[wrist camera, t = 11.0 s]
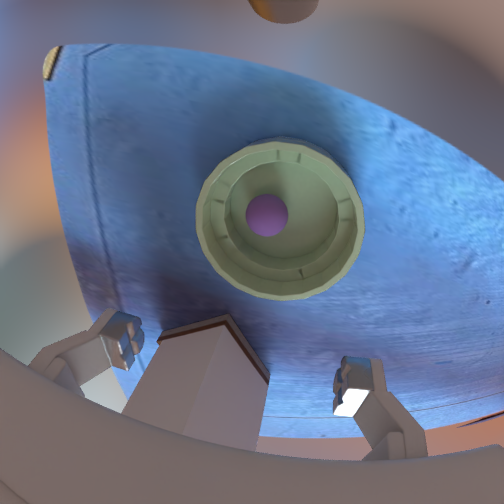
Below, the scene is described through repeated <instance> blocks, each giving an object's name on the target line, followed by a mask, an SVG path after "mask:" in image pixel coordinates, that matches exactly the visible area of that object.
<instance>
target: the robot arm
mask: <svg viewBox="0 0 504 504" xmlns="http://www.w3.org/2000/svg"><path fill="white" fill-rule="evenodd" d="M141 325H142V323H141V319H140V318H139V317H137V316H134V315H131V314H127V313H124V312H121V311H117V310H114V309H111V308H108V309H106V310H105V311H104V312H103V313H102V315H101V316H100V317H99V318H98V319H97V321H96V322H95V323H94V324H93V325H92V327H91V328H90V329H89V330H88V331H86V330H85V331H83V332H80V333H78V334H75V335H73V336H71V337H68V338H65V339H63V340H61V341H58V342H56V343H53V344H51V345H49V346H46V347H44V348H42V350H41V351H40V352H39V353H38V354H37V355H36V357H35V358H34V359H33V360H32V361H31V363H30V364H29V365H28V366H26V365H25V364H23V363H22V362H20V361H18V360H17V359H15V358H14V357H13V356H11V355H10V354H8V353H6V352H5V351H4V350H2V349H1V348H0V504H504V448H503V447H502V446H500V445H497V444H494V445H489V446H485V447H480V448H476V449H471V450H466V451H461V452H455V453H450V454H443V455H437V456H429V457H428V453H427V446H426V439H425V433H424V429H423V428H422V427H421V426H420V425H419V424H418V422H417V421H416V420H415V419H414V418H413V417H412V416H411V414H410V413H409V412H408V411H407V410H406V409H405V408H404V406H403V405H402V404H401V403H400V402H399V401H398V400H397V398H396V397H395V396H394V395H393V394H392V393H391V392H387V387H386V381H385V375H384V369H383V363H382V360H381V359H374V358H362V357H351V356H344V357H343V358H342V360H341V368H339V369H337V372H336V374H335V378H334V383H333V392H334V393H335V395H336V396H335V398H334V400H333V415H342V416H354V417H353V418H354V420H355V421H356V423H357V425H358V426H359V428H360V429H361V431H362V433H363V434H364V436H365V438H366V439H367V441H368V443H369V444H370V446H371V448H372V449H373V450H372V451H371V452H370V453H369V454H368V455H366V457H364V458H363V459H362V461H343V460H321V459H308V458H297V457H288V456H280V455H273V454H267V453H259V452H254V451H249V450H243V449H238V448H233V447H228V446H224V445H219V444H215V443H211V442H207V441H203V440H199V439H195V438H192V437H188V436H185V435H181V434H178V433H174V432H171V431H168V430H165V429H162V428H159V427H156V426H153V425H150V424H147V423H144V422H142V421H139V420H136V419H133V418H131V417H128V416H126V415H123V414H120V413H118V412H115V411H113V410H111V409H109V408H106V407H104V406H102V405H100V404H97V403H95V402H93V401H91V400H89V399H87V398H85V395H84V393H83V391H82V390H81V388H80V386H81V385H82V384H84V383H86V382H87V381H89V380H91V379H92V378H94V377H95V376H97V375H99V374H100V373H102V372H103V371H105V370H106V369H108V368H110V367H111V366H114V367H117V368H120V369H123V370H126V371H129V369H130V367H131V366H132V364H133V363H134V361H135V357H134V355H136V354H138V353H140V351H141V349H142V348H143V344H144V332H143V331H142V329H141V328H140V326H141Z"/></svg>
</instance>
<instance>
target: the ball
mask: <svg viewBox="0 0 504 504" xmlns="http://www.w3.org/2000/svg"><path fill="white" fill-rule="evenodd" d="M245 216H246V222H247V224H248V226H249V227H250V229H251V230H252V231H253V232H255V233H256V234H258V235H261V236H273V235H276V234H278V233H279V232H281V231H282V230H283V228H284V227H285V226H286V223H287V221H288V210H287V207H286V205H285V203H284V202H283V201H282V200H281V199H280V198H279V197H277V196H275V195H272V194H262V195H259V196H257V197H255V198H254V199H252V200H251V201H250V203H249V204H248V206H247V209H246V214H245Z"/></svg>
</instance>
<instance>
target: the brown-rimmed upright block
mask: <svg viewBox="0 0 504 504" xmlns="http://www.w3.org/2000/svg"><path fill="white" fill-rule="evenodd" d="M156 342H157V343H158V344H159V347H158V349H157V351H156V353H155V354H154V356H153V358H152V359H151V361H150V363H149V365H148V366H147V368H146V370H145V372H144V374H143V375H142V377H141V379H140V381H139V382H138V384H137V386H136V388H135V389H134V391H133V393H132V395H131V397H130V398H129V400H128V402H127V404H126V406H125V408H124V409H123V411H122V413H121V414H123V415H126V416H128V417H131V418H133V419H136V420H139V421H142V422H144V423H147V424H150V425H153V426H156V427H159V428H162V429H165V430H168V431H171V432H174V433H178V434H181V435H185V436H188V437H192V438H195V439H199V440H203V441H207V442H211V443H215V444H219V445H224V446H228V447H233V448H238V449H243V450H249V451H254V452H255V450H256V446H257V441H258V436H259V431H260V426H261V421H262V416H263V411H264V406H265V401H266V396H267V390H268V385H269V380H270V373H269V372H268V370H267V369H266V368H265V366H264V365H263V363H262V362H261V360H260V359H259V357H258V356H257V355H256V353H255V352H254V350H253V349H252V347H251V346H250V344H249V343H248V341H247V340H246V338H245V337H244V336H243V334H242V333H241V331H240V330H239V328H238V327H237V325H236V324H235V322H234V321H233V319H232V318H231V316H230V315H229V314H225V315H222V316H218V317H215V318H211V319H208V320H204V321H200V322H197V323H193V324H189V325H186V326H182V327H178V328H174V329H171V330H167V331H163V332H162V333H161V335H160V336H159V338H158V340H157V341H156Z"/></svg>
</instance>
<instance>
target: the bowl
mask: <svg viewBox="0 0 504 504" xmlns="http://www.w3.org/2000/svg"><path fill="white" fill-rule="evenodd" d="M262 194H272V195H275V196H277V197H279V198H280V199H281V200H282V201H283V202H284V203H285V205H286V207H287V210H288V221H287V223H286V226H285V227H284V228H283V230H282V231H281V232H279V233H278V234H276V235H273V236H261V235H258V234H256V233H255V232H253V231H252V230H251V229H250V227H249V226H248V224H247V222H246V216H245V214H246V209H247V206H248V204H249V203H250V201H251V200H252V199H254V198H255V197H257V196H259V195H262ZM196 233H197V236H198V239H199V242H200V245H201V248H202V251H203V253H204V255H205V256H206V258H207V259H208V260H209V262H210V263H211V265H212V266H213V268H214V269H215V271H216V272H217V273H218V274H219V275H221V276H222V277H223V278H224V279H226V280H227V281H228V282H229V283H230V284H232V285H233V286H234V287H236V288H238V289H240V290H242V291H244V292H247V293H249V294H251V295H253V296H255V297H259V298H265V299H271V300H277V301H280V300H281V301H286V300H297V299H305V298H308V297H310V296H313V295H316V294H318V293H321V292H323V291H326V290H327V289H329V288H330V287H331V286H332V285H334V284H335V283H336V282H338V281H339V280H340V279H341V278H343V277H344V276H345V275H346V274H347V272H348V271H349V269H350V268H351V266H352V265H353V263H354V262H355V260H356V259H357V257H358V256H359V253H360V249H361V245H362V241H363V238H364V234H365V221H364V211H363V204H362V201H361V199H360V197H359V195H358V193H357V191H356V188H355V186H354V184H353V182H352V180H351V178H350V177H349V175H348V174H347V172H346V170H345V169H344V167H343V166H342V165H341V164H340V163H339V162H338V161H337V160H336V159H335V158H334V157H333V156H332V155H331V154H330V153H329V152H328V151H326V150H325V149H323V148H321V147H319V146H317V145H315V144H313V143H310V142H308V141H306V140H303V139H297V138H290V137H282V136H280V137H279V136H278V137H272V138H267V139H262V140H257V141H254V142H253V143H251V144H249V145H247V146H246V147H244V148H242V149H240V150H239V151H237V152H235V153H234V154H232V155H230V156H229V157H227V158H225V159H224V160H222V161H221V162H220V163H219V164H218V165H217V167H216V168H215V169H214V170H213V171H212V173H211V174H210V175H209V176H208V178H207V179H206V180H205V182H204V184H203V186H202V189H201V192H200V195H199V198H198V200H197V203H196Z"/></svg>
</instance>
